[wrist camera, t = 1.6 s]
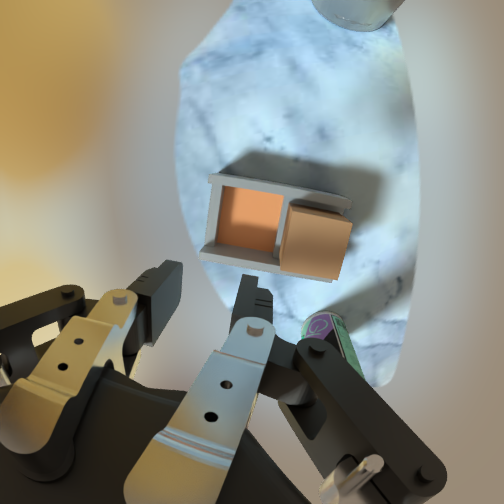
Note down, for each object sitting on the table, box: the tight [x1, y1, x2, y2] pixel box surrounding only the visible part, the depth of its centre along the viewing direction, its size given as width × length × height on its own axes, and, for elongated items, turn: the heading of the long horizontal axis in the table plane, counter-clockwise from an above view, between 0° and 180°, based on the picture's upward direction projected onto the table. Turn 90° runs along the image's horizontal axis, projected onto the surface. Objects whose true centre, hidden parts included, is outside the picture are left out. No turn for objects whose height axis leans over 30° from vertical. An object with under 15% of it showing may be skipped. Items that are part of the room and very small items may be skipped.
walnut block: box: [279, 202, 353, 280], centre depth 24 cm, size 5×5×5 cm
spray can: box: [301, 311, 365, 380], centre depth 23 cm, size 6×6×20 cm
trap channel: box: [199, 173, 352, 283], centre depth 27 cm, size 8×13×4 cm, turn 81°
